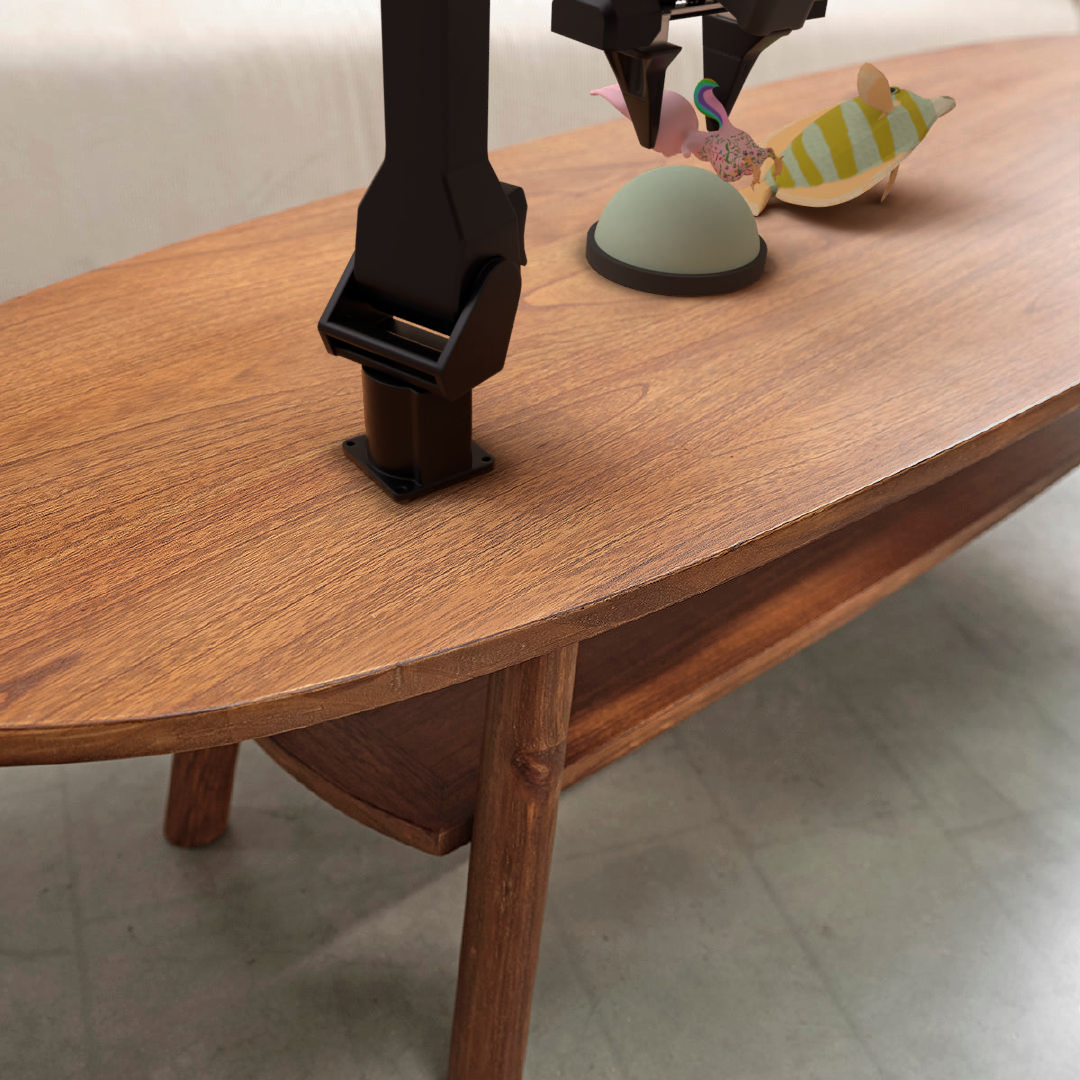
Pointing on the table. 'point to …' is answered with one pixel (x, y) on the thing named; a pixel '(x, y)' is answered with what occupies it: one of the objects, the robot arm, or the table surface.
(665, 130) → the rabbit figure
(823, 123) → the decorative fish sculpture
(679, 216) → the dome on round base
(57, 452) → the table surface
